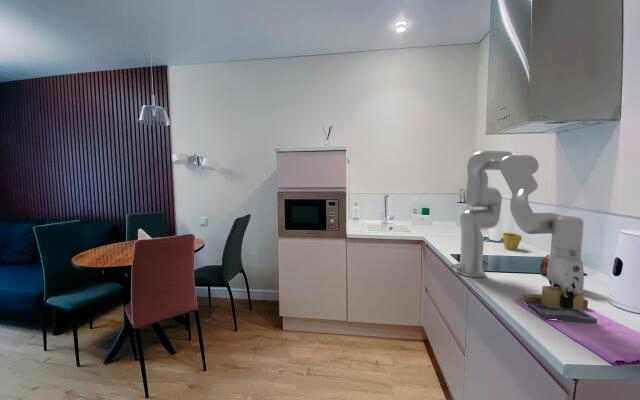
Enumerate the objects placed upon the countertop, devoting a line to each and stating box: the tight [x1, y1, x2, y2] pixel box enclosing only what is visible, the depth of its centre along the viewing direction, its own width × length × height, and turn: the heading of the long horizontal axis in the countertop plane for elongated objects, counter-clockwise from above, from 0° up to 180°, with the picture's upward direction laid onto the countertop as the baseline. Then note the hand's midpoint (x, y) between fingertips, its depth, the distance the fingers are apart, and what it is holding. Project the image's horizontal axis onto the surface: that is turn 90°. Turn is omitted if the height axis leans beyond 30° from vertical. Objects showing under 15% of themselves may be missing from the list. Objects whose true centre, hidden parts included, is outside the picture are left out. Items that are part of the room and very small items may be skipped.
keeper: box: [527, 303, 598, 324], centre depth 91 cm, size 15×9×2 cm, turn 82°
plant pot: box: [501, 232, 523, 251], centre depth 174 cm, size 10×10×10 cm
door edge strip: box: [521, 293, 589, 309], centre depth 97 cm, size 20×2×3 cm, turn 82°
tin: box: [539, 254, 550, 276], centre depth 130 cm, size 15×3×8 cm, turn 127°
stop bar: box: [541, 285, 585, 311], centre depth 90 cm, size 4×10×6 cm, turn 82°
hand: (561, 304), depth 90 cm, fingers closed on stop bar, 4 cm apart
